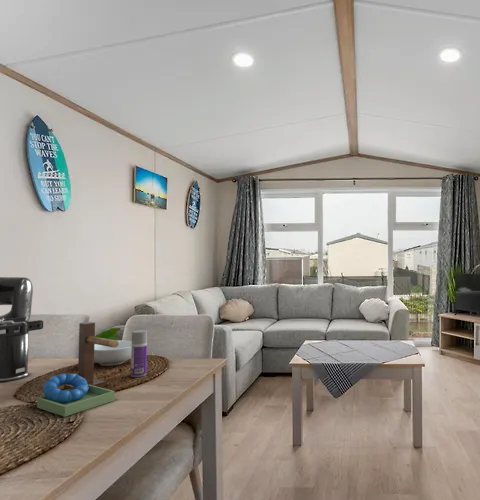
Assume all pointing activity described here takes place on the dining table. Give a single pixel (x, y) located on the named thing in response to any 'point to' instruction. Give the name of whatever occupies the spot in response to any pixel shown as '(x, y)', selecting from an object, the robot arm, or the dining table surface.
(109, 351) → the cereal bowl
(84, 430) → the dining table surface
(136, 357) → the container
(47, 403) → the tray
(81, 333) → the rack
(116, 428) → the dining table surface
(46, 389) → the ring
